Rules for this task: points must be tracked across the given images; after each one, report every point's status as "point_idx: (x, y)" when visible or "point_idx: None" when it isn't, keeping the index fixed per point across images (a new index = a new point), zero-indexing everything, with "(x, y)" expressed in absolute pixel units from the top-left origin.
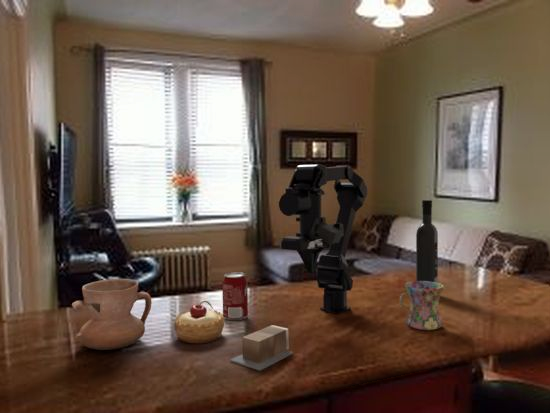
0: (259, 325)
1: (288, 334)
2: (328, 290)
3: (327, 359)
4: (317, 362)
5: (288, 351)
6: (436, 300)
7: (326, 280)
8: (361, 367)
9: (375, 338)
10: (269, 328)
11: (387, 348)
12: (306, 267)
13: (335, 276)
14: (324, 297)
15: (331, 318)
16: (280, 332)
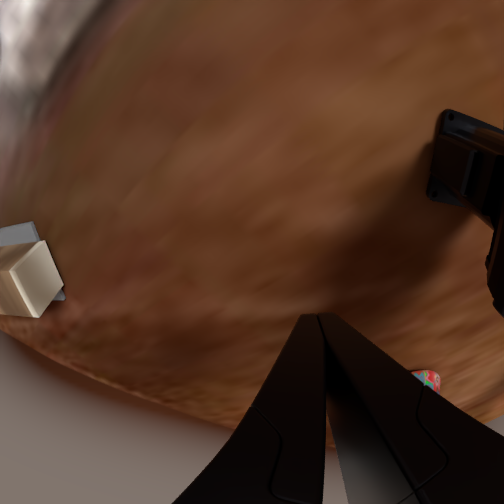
0: (112, 55)
1: (46, 307)
2: (487, 187)
3: (109, 354)
4: (87, 347)
5: (57, 293)
6: None
7: (502, 220)
8: (138, 395)
9: None
10: (3, 282)
11: (240, 399)
12: (285, 351)
13: (500, 298)
14: (463, 155)
15: (373, 206)
16: (19, 315)
